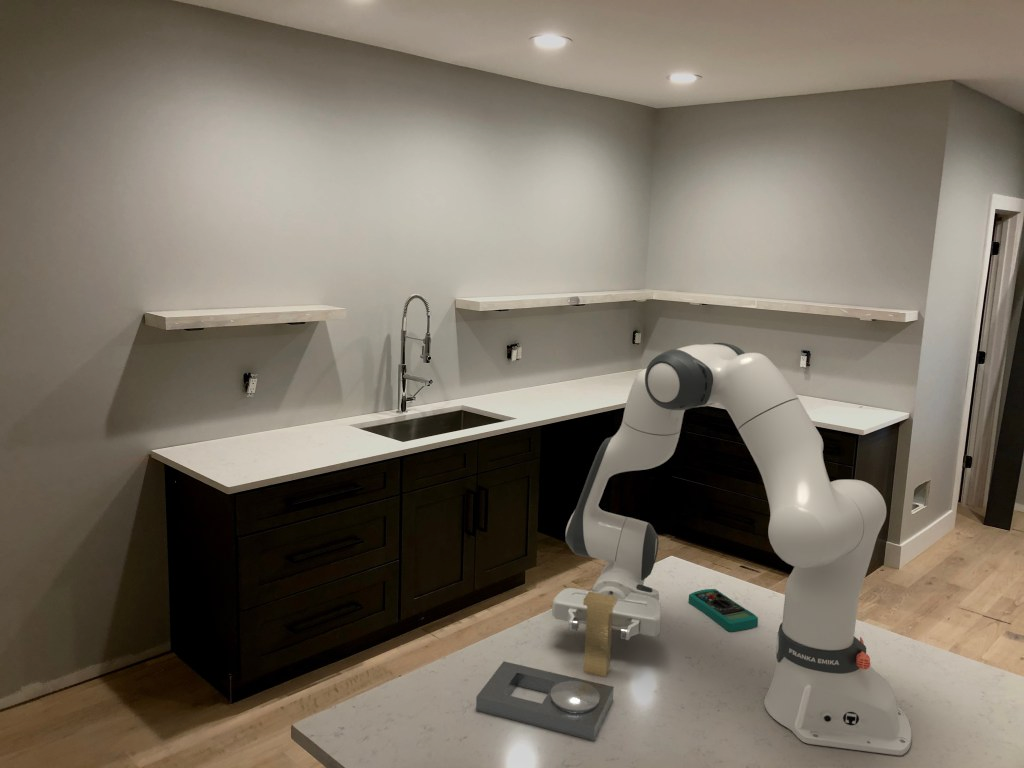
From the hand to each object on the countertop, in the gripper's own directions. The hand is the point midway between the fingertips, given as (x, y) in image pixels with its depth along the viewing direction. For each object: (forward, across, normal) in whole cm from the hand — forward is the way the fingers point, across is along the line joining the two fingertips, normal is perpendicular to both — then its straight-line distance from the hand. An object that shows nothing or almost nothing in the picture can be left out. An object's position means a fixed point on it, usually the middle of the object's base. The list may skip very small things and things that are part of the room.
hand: (598, 631), depth 142 cm
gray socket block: (+13, -6, +8) cm, 16 cm away
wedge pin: (0, 0, +8) cm, 8 cm away
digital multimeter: (-32, +20, +9) cm, 38 cm away
